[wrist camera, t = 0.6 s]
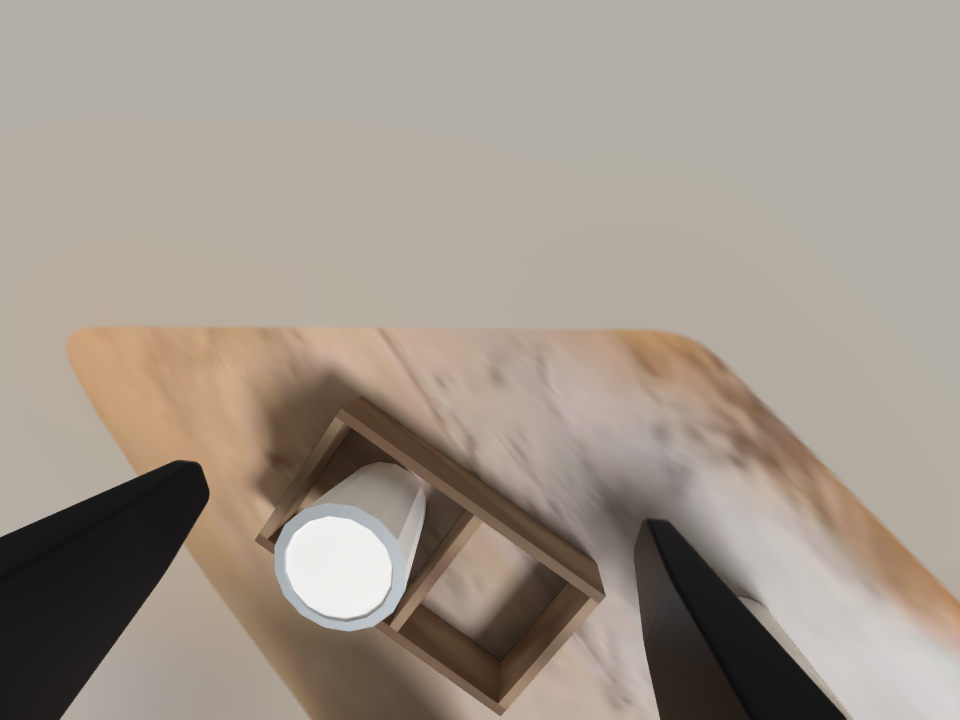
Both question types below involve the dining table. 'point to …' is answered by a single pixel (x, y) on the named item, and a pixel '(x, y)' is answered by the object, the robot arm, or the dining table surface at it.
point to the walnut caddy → (482, 504)
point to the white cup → (353, 548)
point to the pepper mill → (792, 649)
